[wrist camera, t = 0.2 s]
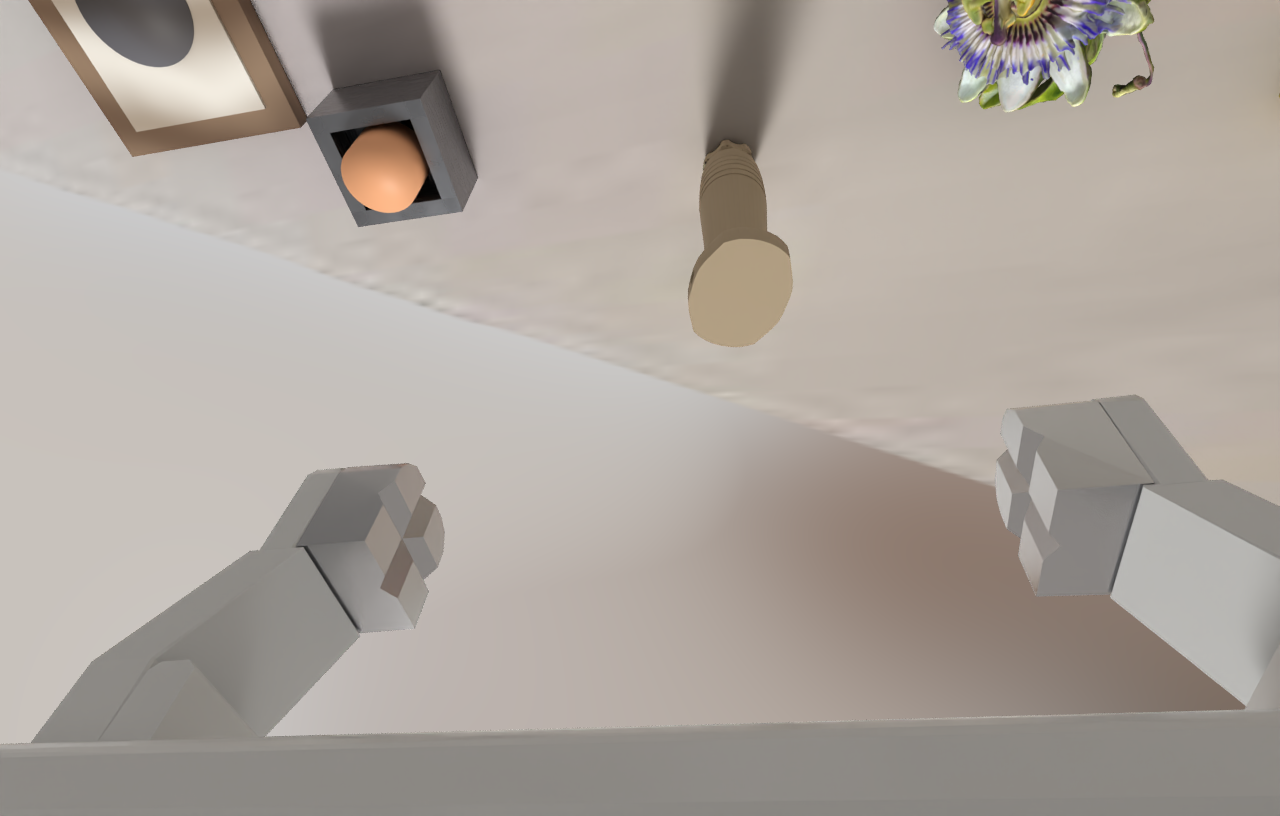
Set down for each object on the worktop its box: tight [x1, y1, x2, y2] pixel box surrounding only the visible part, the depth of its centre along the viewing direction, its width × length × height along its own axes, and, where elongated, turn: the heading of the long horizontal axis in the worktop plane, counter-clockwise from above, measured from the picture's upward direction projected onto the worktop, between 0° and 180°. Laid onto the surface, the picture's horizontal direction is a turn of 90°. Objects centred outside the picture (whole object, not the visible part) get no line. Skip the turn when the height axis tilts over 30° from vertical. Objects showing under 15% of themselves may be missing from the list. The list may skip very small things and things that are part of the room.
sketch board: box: [29, 0, 307, 157], centre depth 43 cm, size 16×12×2 cm
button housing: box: [306, 70, 478, 227], centre depth 46 cm, size 7×7×4 cm
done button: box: [341, 122, 430, 213], centre depth 45 cm, size 4×4×3 cm
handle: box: [688, 140, 793, 347], centre depth 43 cm, size 5×6×15 cm
